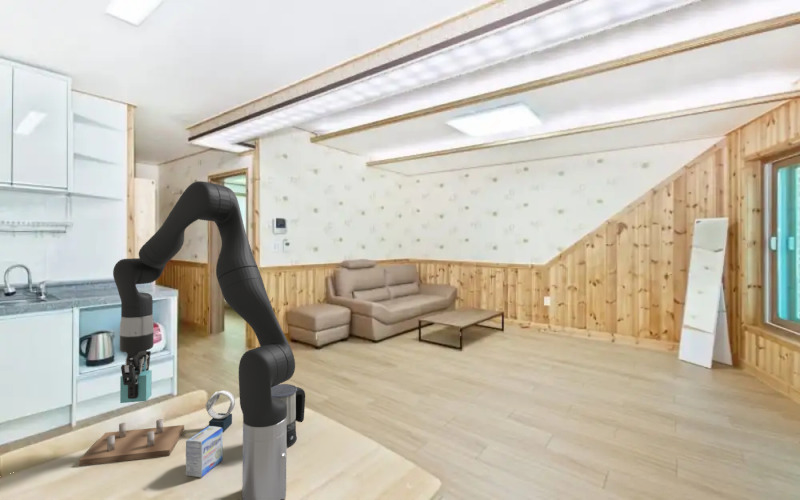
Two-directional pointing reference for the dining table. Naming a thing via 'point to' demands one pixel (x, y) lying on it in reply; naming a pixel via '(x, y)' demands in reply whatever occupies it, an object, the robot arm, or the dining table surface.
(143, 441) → the stub board
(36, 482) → the dining table surface
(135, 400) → the block
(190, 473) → the medicine box
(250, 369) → the robot arm
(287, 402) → the milk frother
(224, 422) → the silver ring on block
